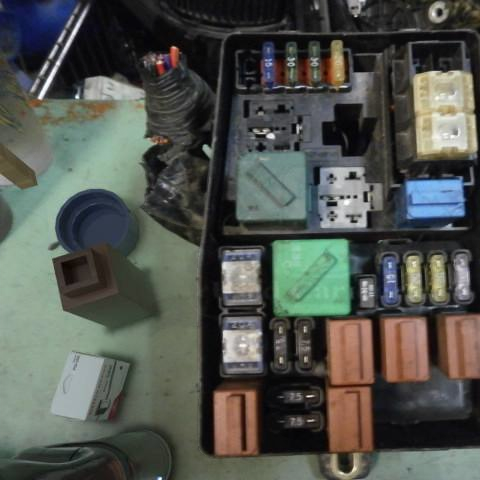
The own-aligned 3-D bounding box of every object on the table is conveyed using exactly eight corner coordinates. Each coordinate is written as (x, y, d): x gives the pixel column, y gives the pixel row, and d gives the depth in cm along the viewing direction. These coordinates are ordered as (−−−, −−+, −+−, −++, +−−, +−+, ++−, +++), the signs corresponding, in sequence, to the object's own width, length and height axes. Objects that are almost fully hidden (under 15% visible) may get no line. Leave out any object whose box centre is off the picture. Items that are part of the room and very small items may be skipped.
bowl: (146, 254, 87) (137, 244, 82) (77, 275, 86) (63, 267, 81) (130, 192, 90) (120, 179, 85) (63, 212, 89) (48, 200, 83)
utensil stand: (155, 314, 85) (111, 288, 64) (111, 328, 84) (52, 306, 64) (144, 272, 86) (98, 235, 66) (101, 286, 86) (40, 252, 65)
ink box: (114, 420, 80) (84, 424, 69) (82, 413, 80) (47, 416, 69) (131, 362, 82) (105, 356, 71) (100, 355, 83) (69, 349, 71)
